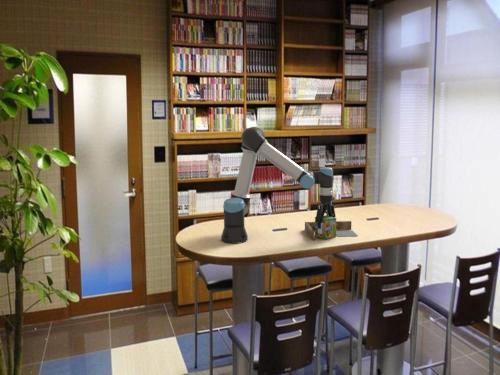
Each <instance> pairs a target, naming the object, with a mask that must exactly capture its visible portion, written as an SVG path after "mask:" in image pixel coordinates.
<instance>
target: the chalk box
mask: <svg viewBox="0 0 500 375" xmlns="http://www.w3.org/2000/svg"><path fill="white" fill-rule="evenodd" d="M325 214H326V215H325ZM325 214H324V217H323V220H322V223H323V228H322V234H318V223H317V222H315V221H314V222H315V230H314V237H317V238H321V239H324V240H326V239H333V238H336V237H337V236H336V231H337V230H336V221H337V218H336V217H335V218H334V217H331V216H328V211H326V212H325ZM315 219H316V216H315V217H314V220H315Z"/></svg>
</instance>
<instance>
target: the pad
mask: <svg viewBox="0 0 500 375" xmlns="http://www.w3.org/2000/svg"><path fill="white" fill-rule="evenodd" d="M336 237H337V238H340V237H341V238H342V237H343V238H344V237H348V238H349V237H358V234H357V233H356V232H355V231H354V230H336Z"/></svg>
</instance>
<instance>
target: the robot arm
mask: <svg viewBox="0 0 500 375" xmlns="http://www.w3.org/2000/svg"><path fill="white" fill-rule="evenodd" d="M240 137H241V139H240V140H241V143H242V144H241V147H240V149H241V150H242V154H241V160H240V165H239V170H238V174H237V177H236V178H237V179H236V183H235V187H234V190H233V191H232V192H231V195H230V197H229V198H227V199H225V200H224V201H223V204H222V205H223V206H222V208H223V229H222V232H221V236H220V238H221V239H220V240H221V242H223V241H225V242H224V243H226V242H242V243H244V242H243V241H245V242H247V241H248V239H249V238H248V233H247V230H246V227H245V215H246V214H248V212H249V210H250V205H251V204H250V202H251V199H252V198H251V195H250V191H251V190H250V189H251V185H252V180H253V177H254V172H255V168H256V163H257V159H258V156H259V155H260V156H262V157H263V158H265V159H266V160H267V161H269V162H270V163H271V164H273V165H274V166H275V167H276V168H278V169H280V171H282V172H284V173H285V174H286V175H288V176H290V177H291V178H292V179H293V180H295V181H296V182H297V183H298V184H300V186H301V187H302V188H303V189H307V190H309V189H311V188H313V187H314V185H319V189H318V192H319V196H318V198H319V199H318V200H319V202H320V204H317V209H316V215H315V217H316V219H315V218H314V222H317V223H318V234H322V228H323V223H322V220H323V217H324V216H325V214H326V213H325V212H326V211H328V216H331V217H334V218H336V217H337V216H336V211H335V202H334V201H333V197H334V196H333V192H334V190H333V189H334V188H333V187H334V170H333V168H332V167H328V166H326V167H325V166H324V167H320V168H319V170H305V169H304V168H303V167H301V166H300V165H298V164H297V163H296V162H294V161H293V160H292V159H291V158H289V157H287V155H285V154H284V153H282V152H281V151H279V150H278V149H277V148H275V147H274V146H272V145H271V144H270V143H269V142H268V140H267V139H266V136H265V132H264V131H263V129H261V128H260V127H258V126H251V127H247V128H245V129H244V130H243V131H242V133H241V135H240ZM246 240H247V241H246Z"/></svg>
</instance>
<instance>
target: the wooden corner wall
mask: <svg viewBox="0 0 500 375" xmlns="http://www.w3.org/2000/svg"><path fill="white" fill-rule="evenodd" d="M348 230H352V220H336V231H348ZM304 231H305V232H306V234H307V235H308V237H309V239H310V240H311V241H314V240H315V221H304Z"/></svg>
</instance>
